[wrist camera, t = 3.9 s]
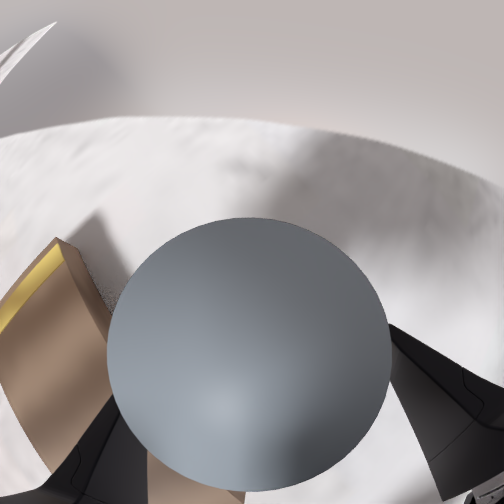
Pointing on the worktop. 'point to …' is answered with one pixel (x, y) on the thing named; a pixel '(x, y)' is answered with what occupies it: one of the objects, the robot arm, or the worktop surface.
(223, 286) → the grey cylinder
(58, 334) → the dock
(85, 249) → the worktop surface
